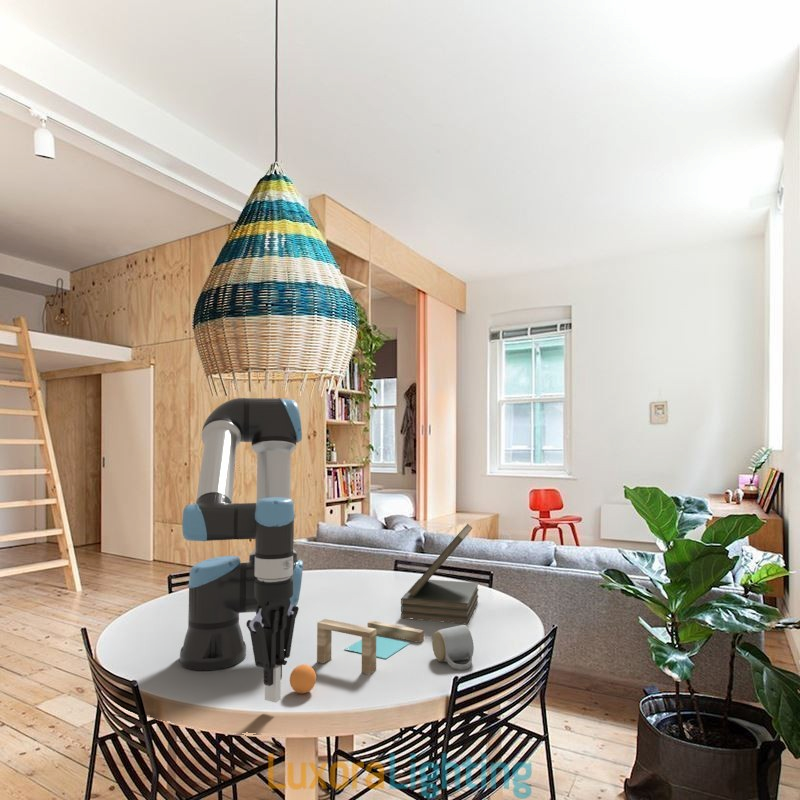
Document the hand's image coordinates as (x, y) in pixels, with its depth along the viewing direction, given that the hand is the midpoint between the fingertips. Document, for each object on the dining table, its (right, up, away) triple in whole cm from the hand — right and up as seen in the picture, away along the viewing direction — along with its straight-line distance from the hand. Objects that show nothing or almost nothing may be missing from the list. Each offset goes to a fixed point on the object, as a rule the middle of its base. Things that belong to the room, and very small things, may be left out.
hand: (272, 699), depth 119 cm
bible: (+37, -6, +66) cm, 76 cm away
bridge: (+12, -3, +22) cm, 26 cm away
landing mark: (+19, -4, +35) cm, 40 cm away
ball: (+5, 0, +8) cm, 10 cm away
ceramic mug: (+38, -4, +25) cm, 46 cm away
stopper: (+24, -4, +42) cm, 49 cm away
